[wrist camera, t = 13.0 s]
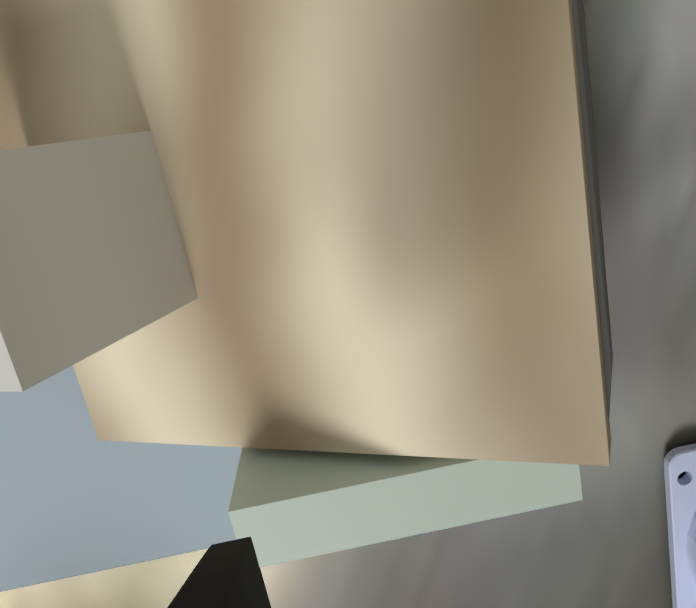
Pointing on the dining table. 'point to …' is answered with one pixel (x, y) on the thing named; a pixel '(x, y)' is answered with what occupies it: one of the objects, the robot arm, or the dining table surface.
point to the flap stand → (378, 497)
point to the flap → (346, 219)
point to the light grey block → (83, 252)
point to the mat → (99, 491)
